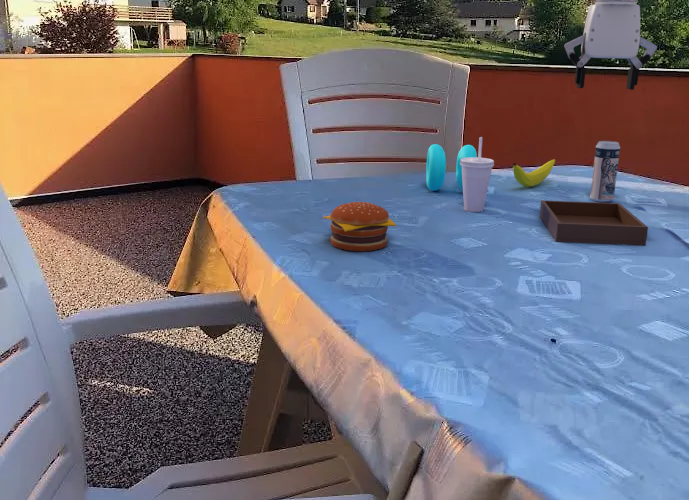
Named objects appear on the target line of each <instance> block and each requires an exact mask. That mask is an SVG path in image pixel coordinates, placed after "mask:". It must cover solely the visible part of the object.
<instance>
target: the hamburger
mask: <svg viewBox="0 0 689 500" xmlns="http://www.w3.org/2000/svg"><path fill="white" fill-rule="evenodd" d="M322 219H323V220H324V219H327V220H329V221H331V224H330V231H331V236H330V244H331V246H333V247H335V248H337V249H340V250H342V249H344V251H348V250H349V252H372V250H373V251H378V250H382V249H383V248H386V247H387V244H388V237H387V232H388V229H389V227H397V224H396V222H394V220H393V219H390V214H389V211H388V210H386V209H385V208H383V207H382V206H380V205H377V204H375V203H371V202H366V201H352V202H347V203H343V204H339V205H338V206H336V207H334V209H333V210H332V211H331V213H330V215H325V216H323V217H322ZM377 249H378V250H377Z"/></svg>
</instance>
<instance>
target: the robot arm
mask: <svg viewBox="0 0 689 500" xmlns="http://www.w3.org/2000/svg"><path fill="white" fill-rule="evenodd" d="M638 1H639V0H594V4H590V5H589V8H588V11H587V15H586V18H585V24H584V28H583V34H582V35H580V36H578V37H576V38H575V39H572V40H570V41H568V42H566V43H565V44H564V46H563V47H564V50H565V52H566V54H567V58H568V59H569V61H570V62H571V63H572V64H573V65H574V66H575V75H574V85H576V88H577V89H584V87H585V78H586V70H587V68H586V67H585V65H586V64H587V63H588V61H590V60H591V58H594V59H626V60H627V62H628V63H629V65H630V67H629V69H628V71H627V79H626V85H625V86H626V87H625V88H626V89H627V90H630V91H634V90H635V86H637V85H638V81H639V74H640V69H642V67H644V65H645V64H647V63H648V62H649V61H650V60H651V57H653V55H654V54H655V52H656V51H657V48H658V46H657V45H656V44H655V43H653V42H651V41H649V40H648V39H645V38H644V37H643V36H642V35H641V7H640V5H639V4H637V3H638ZM579 45H581V47H580V53H581V56H579V57H578V55H577V54H576V52H575V50H574V49H575V47H577V46H579ZM640 46H641V47H642V48H645V51H644V54H643V55H642V56H640V57H639V58H638V53H639V48H640Z"/></svg>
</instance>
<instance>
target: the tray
mask: <svg viewBox="0 0 689 500" xmlns="http://www.w3.org/2000/svg"><path fill="white" fill-rule="evenodd" d="M539 218H540V219H541V221H542V223H543V224H544V226H545V228H546V229H547V230H548V232H549V233H550V235H551V236H552V238H553V240H554V241H555V242H557V243H581V244H601V245H602V244H603V245H622V244H627V245H626V246H646V245H647V238H648V231H649V226H648V225H646V224H645V223H644V222H643V221H641V220H640V219H639V218H638V217H636V216H635V214H633V213H632V212H631V211H630V210H628V209H627V207H625V206H624V205H623V204H621V202H597V201H594V202H592V201H569V200H567V201H566V200H565V201H564V200H542V199H541V200H540V207H539Z"/></svg>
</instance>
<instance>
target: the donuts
mask: <svg viewBox="0 0 689 500" xmlns="http://www.w3.org/2000/svg"><path fill="white" fill-rule="evenodd" d="M468 157H478V153H477V149H476V148H475V147H474V146H473V145H472V144H465V145H463V146H462V147H461V148H460V150H459V151H458V154H457V158H456V163H455V164H456V165H455V166H456V167H455V177H456V184H457V186H458V188H459V189H460V190H461V191H463V182H462V165H460V160H461V159H462V158H468ZM446 163H447V160H446V153H445V150H444V148H443V147H442V146H441V144H437V143H434V144H431V145H430V146H429V147H428V149H427V154H426V165H425V166H426V167H425V169H426V170H425V179H426V180H425V181H426V182H425V183H426V186H427V188H428V189H429V190H430V191H432V192H436V191H439V190H440V189H441V188H442V186H443V185H444V183H445V178H446V170H447V169H446V167H447V164H446Z"/></svg>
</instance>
